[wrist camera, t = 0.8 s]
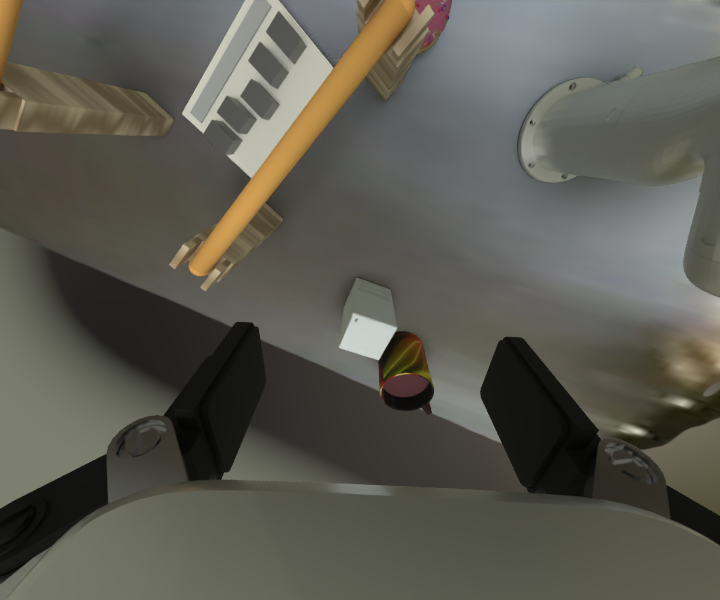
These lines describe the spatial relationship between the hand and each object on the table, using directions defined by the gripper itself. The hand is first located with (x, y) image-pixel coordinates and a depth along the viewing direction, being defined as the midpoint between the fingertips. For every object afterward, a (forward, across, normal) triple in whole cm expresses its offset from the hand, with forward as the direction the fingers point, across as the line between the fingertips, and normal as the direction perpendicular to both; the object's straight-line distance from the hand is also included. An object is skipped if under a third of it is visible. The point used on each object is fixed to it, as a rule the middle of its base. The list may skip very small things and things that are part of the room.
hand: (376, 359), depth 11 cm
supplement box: (+39, -1, +19) cm, 43 cm away
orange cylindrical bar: (+18, +8, -6) cm, 20 cm away
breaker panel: (+39, +15, -12) cm, 43 cm away
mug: (+39, -11, +32) cm, 51 cm away
